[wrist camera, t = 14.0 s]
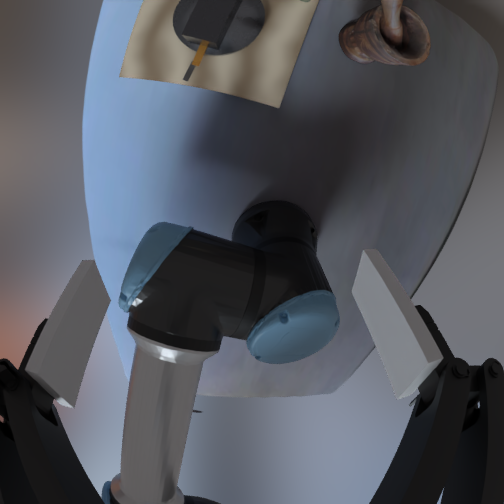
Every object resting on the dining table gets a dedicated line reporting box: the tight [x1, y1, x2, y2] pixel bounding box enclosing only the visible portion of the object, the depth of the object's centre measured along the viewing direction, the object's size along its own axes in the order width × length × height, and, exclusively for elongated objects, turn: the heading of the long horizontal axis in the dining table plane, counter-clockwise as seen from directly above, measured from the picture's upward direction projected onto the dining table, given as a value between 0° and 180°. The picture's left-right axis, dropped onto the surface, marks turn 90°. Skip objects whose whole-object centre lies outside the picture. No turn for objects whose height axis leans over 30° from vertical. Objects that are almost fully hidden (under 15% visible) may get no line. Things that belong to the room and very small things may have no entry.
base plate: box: [119, 0, 319, 108], centre depth 26 cm, size 24×22×4 cm
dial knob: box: [173, 0, 265, 66], centre depth 23 cm, size 14×12×8 cm
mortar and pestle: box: [339, 0, 431, 66], centre depth 21 cm, size 12×9×20 cm
